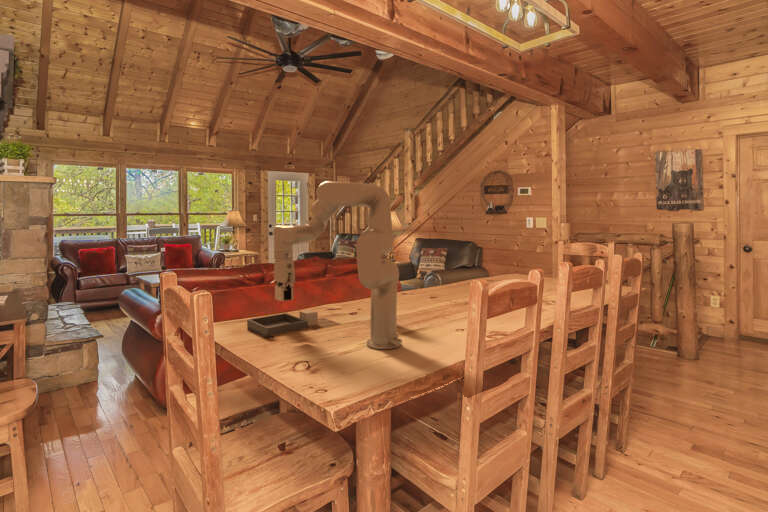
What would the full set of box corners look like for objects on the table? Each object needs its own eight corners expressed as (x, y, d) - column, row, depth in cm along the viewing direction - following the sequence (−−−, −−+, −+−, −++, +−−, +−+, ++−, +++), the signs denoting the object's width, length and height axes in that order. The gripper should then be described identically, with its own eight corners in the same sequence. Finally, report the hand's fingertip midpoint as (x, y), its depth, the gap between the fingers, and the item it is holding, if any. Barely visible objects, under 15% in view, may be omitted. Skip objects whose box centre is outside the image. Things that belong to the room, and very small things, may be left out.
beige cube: (317, 324, 190) (317, 311, 190) (306, 326, 187) (306, 313, 186) (310, 321, 194) (310, 309, 194) (299, 323, 191) (299, 311, 190)
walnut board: (342, 326, 191) (342, 324, 191) (313, 332, 182) (313, 329, 182) (323, 320, 201) (323, 317, 201) (296, 325, 192) (296, 323, 192)
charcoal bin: (307, 330, 184) (307, 320, 184) (267, 338, 173) (267, 328, 172) (286, 321, 198) (286, 313, 198) (247, 328, 186) (247, 319, 186)
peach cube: (293, 299, 186) (293, 286, 186) (281, 301, 183) (281, 287, 182) (286, 297, 190) (286, 284, 190) (275, 299, 187) (274, 286, 186)
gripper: (302, 256, 180) (302, 300, 182) (281, 253, 193) (282, 294, 195) (285, 257, 176) (286, 303, 178) (265, 254, 188) (266, 296, 190)
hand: (284, 298), depth 186 cm, fingers closed on peach cube, 5 cm apart
